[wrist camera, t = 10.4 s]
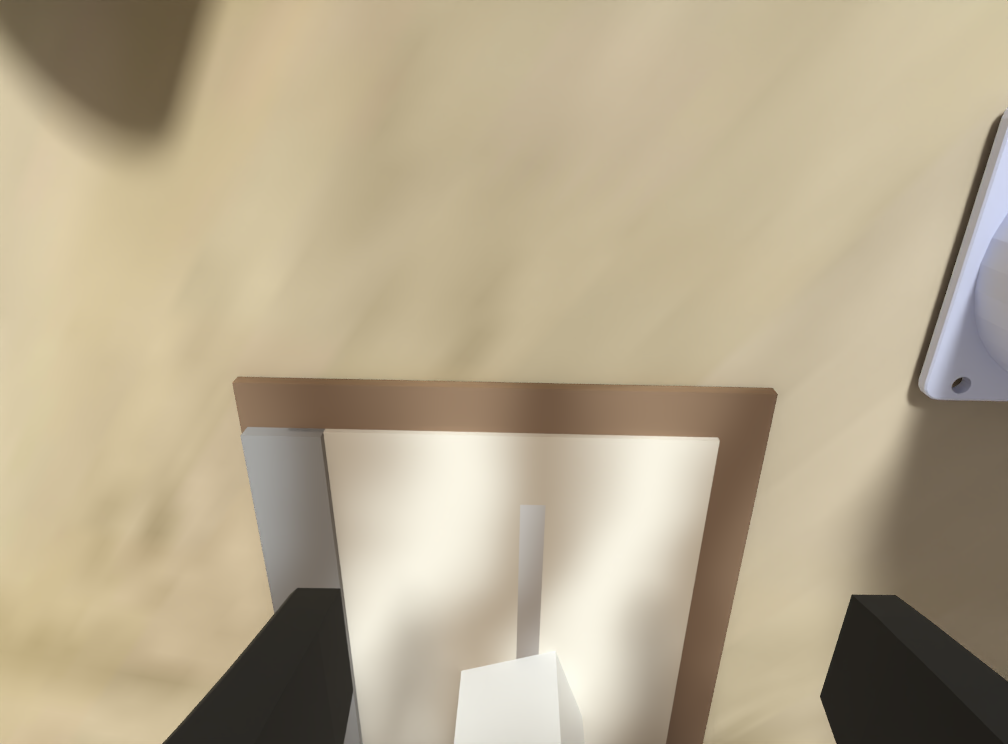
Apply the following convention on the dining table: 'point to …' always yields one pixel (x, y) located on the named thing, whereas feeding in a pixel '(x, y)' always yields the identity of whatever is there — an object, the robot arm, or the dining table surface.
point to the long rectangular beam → (518, 704)
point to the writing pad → (512, 537)
